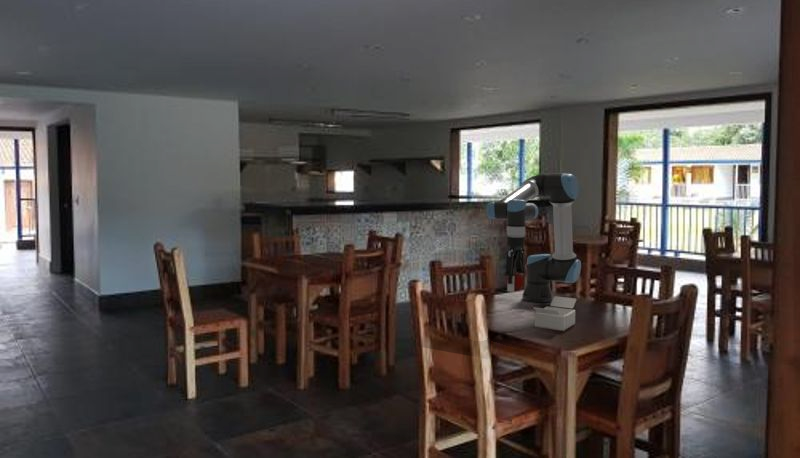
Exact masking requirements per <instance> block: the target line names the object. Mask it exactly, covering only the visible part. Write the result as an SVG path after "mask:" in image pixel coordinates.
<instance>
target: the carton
mask: <svg viewBox="0 0 800 458" xmlns="http://www.w3.org/2000/svg"><path fill="white" fill-rule="evenodd" d="M542 308H543V307H542ZM543 309H551V310H557V311H558V312H559V313H560V314H561V316H559V315H552V314H544V313H537V312H536V311H535V312H534V328H538V329H539V328H540V329H547V330H553V331H560V332H565V331H566V330H568V329H569V328H571V327H572V326H574V325H575V324H576V309H572V308H564V307H556V306H545V307H544V308H543Z"/></svg>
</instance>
